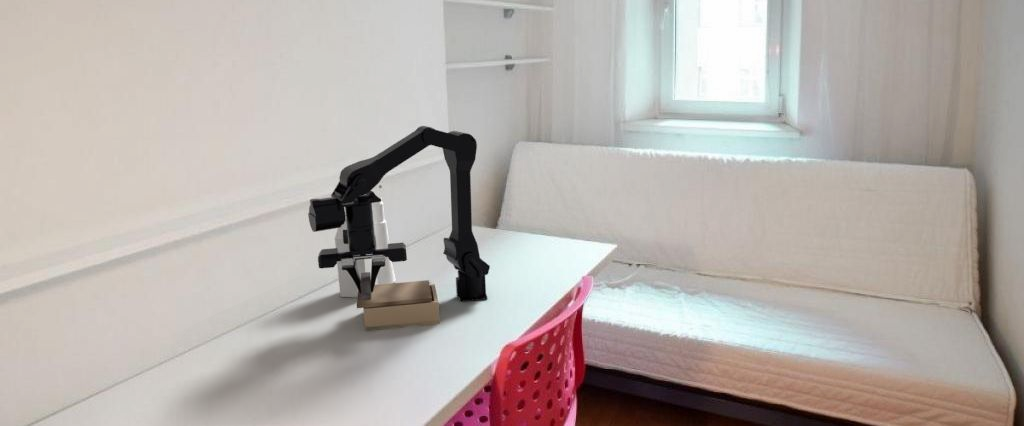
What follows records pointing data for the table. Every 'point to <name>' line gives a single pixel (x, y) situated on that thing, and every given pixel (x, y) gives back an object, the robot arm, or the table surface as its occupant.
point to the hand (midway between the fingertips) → (366, 292)
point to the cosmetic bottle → (382, 243)
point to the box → (403, 314)
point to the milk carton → (345, 280)
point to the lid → (392, 293)
